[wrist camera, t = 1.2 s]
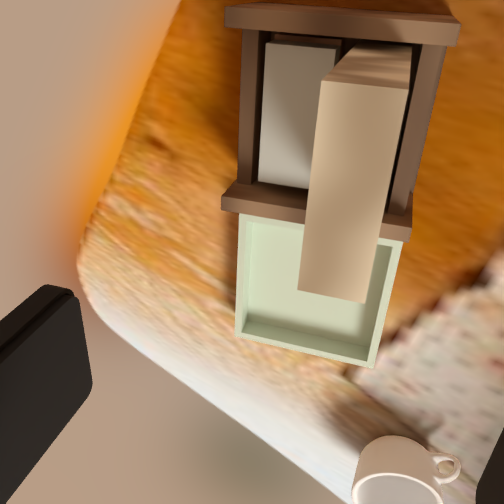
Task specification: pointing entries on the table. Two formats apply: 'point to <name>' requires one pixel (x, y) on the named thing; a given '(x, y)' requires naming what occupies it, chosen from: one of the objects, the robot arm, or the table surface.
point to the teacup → (400, 473)
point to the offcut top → (291, 109)
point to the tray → (306, 296)
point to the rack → (353, 28)
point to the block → (353, 167)
